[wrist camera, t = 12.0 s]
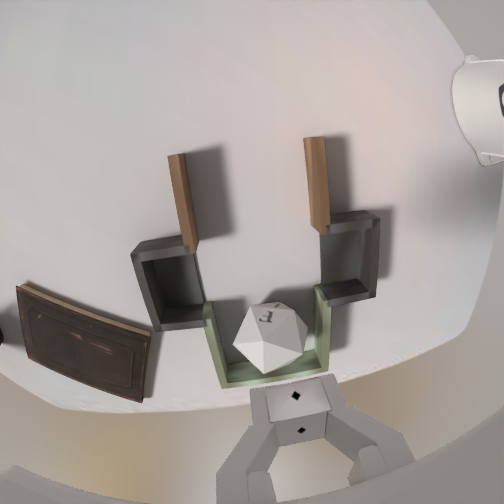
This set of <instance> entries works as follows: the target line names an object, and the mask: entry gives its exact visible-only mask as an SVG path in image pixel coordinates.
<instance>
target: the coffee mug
mask: <svg viewBox="0 0 504 504" xmlns="http://www.w3.org/2000/svg"><path fill="white" fill-rule="evenodd" d="M2 342H3V334H2V332H1V329H0V345H1V343H2Z"/></svg>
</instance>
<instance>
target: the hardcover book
mask: <svg viewBox="0 0 504 504" xmlns="http://www.w3.org/2000/svg"><path fill="white" fill-rule="evenodd" d="M16 293H17V301H18V309H19V315H20V321H21V327H22V332H23V337H24V342H25V346H26V351H27V355H28V358H29V359H31V360H33V361H35V362H37V363H39V364H41V365H43V366H45V367H47V368H49V369H51V370H53V371H55V372H57V373H60V374H62V375H64V376H66V377H69V378H71V379H73V380H76V381H78V382H81V383H83V384H86V385H88V386H91V387H94V388H96V389H99V390H102V391H105V392H107V393H110V394H113V395H116V396H119V397H122V398H125V399H129V400H132V401H135V402H139V403H142V402H143V398H144V397H143V390H144V382H145V373H146V366H147V358H148V351H149V345H150V338H151V337H150V333H151V332H149V331H145V330H142V329H139V328H136V327H132V326H129V325H126V324H123V323H120V322H117V321H114V320H111V319H108V318H105V317H102V316H99V315H97V314H94V313H91V312H88V311H86V310H83V309H80V308H78V307H75V306H73V305H70V304H68V303H65V302H63V301H60V300H58V299H55V298H53V297H51V296H48V295H46V294H44V293H41V292H39V291H37V290H35V289H32V288H30V287H28V286H26V285H24V284H22V285H20V287H19V286H16Z"/></svg>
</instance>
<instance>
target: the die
mask: <svg viewBox="0 0 504 504" xmlns="http://www.w3.org/2000/svg"><path fill="white" fill-rule="evenodd" d="M307 331H308V327H307V326H306V324H305V323H304V322H303V321H302V320H301V318H300V317H299V316H298V315H297V313H296V312H295V311H294V310H293V309H291V308H289V307H287V306H286V305H284V304H282V303H281V302H272V303H265V304H258V305H251V306H250V307H249V309H248V311H247V314H246V316H245V318H244V320H243V323H242V325H241V327H240V329H239V332H238V334H237V336H236V338H235V340H234V343H233V345H234V346H235V347H236V348H237V349H238V350H239V351H240V352H241V353H242V354H243V355H244V356H245V357H246V358H247V359H248V360H249V361H250V362H251V363H253V364H254V365H255V366H256V367H257V368H258V369H259V370H260V371H261V372H262V373H263V374H265V373H268V372H271V371H273V370H276V369H278V368H281V367H283V366H286V365H288V364H290V363H292V362H293V361H295V360H296V359H297V358H298V357H300V356H301V355H302V354H303V351H304V346H305V341H306V336H307Z"/></svg>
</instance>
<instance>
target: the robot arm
mask: <svg viewBox="0 0 504 504" xmlns="http://www.w3.org/2000/svg"><path fill="white" fill-rule="evenodd" d="M452 96H453V104H454V109H455V113H456V117H457V120H458V123H459V125H460V127H461V130H462V132H463V134H464V135H465V137H466V139H467V140H468V142H469V143H470V144H471V145H472V147H473V148H474V149H475V151H476V154H477V156H478V159H479V161H480V163H481V165H482V166H490V165H493V164H496V163H499V162H502V161H504V60H485V61H482V60H480V59H479V58H477V57H476V56H475V55H473V54H468V55H467V56H466V58H465V62H464V65H463V66H462V67H460V68H459V69H458V70H457V72H456V74H455V76H454V79H453V86H452ZM265 394H266V395H265ZM250 400H251V409H252V419H253V425H252V426H249V427H248V429H247V430H246V431H245V433H244V434H243V436H242V437H241V439H240V441H239V442H238V443H237V445H236V446H235V448H234V449H233V451H232V452H231V454H230V455H229V456H228V458H227V459H226V461H225V462H224V464H223V465H222V466H221V468H220V469H219V471H218V472H217V474H216V494H217V495H216V496H217V504H504V406H503V407H501V408H500V409H499V410H497V411H496V412H495V413H493V414H492V415H491V416H489V417H488V418H487V419H485V420H484V421H482V422H481V423H480V424H478V425H477V426H476V427H474V428H472V429H471V430H469V431H468V432H466V433H465V434H463V435H462V436H460V437H458V438H457V439H455V440H453V441H452V442H450V443H448V444H446V445H445V446H443V447H441V448H440V449H438V450H436V451H434V452H432V453H430V454H428V455H426V456H424V457H422V458H420V459H418V460H415V459H414V457H413V454H412V452H411V450H410V449H409V447H408V445H407V443H406V441H405V439H404V437H403V435H402V433H401V432H399V431H397V430H395V429H393V428H391V427H389V426H388V425H386V424H384V423H382V422H380V421H379V420H377V419H375V418H373V417H371V416H369V415H368V414H366V413H364V412H363V411H361V410H359V409H358V408H356V407H354V406H353V405H349V406H347V403H346V401H345V399H344V397H343V394H342V392H341V390H340V387H339V385H338V383H337V380H336V378H335V376H334V374H328V375H323V376H319V377H314V378H309V379H305V380H300V381H296V382H292V383H287V384H281V385H274V386H267V387H265V389H264V387H261V388H253V389H250ZM324 437H325V439H326V440H327V441H328V442H330V443H331V444H332V445H333V446H335V447H336V448H337V449H339V450H340V451H341V452H342V453H343V454H345V455H346V456H347V457H349V458H350V459H351V460H352V461H354V464H353V467H352V469H351V471H350V474H349V476H348V480H349V484H350V487H346V488H342V489H339V490H336V491H332V492H328V493H324V494H320V495H315V496H311V497H306V498H301V499H296V500H290V501H284V502H278V503H277V502H276V496H275V492H274V488H273V484H272V481H271V477H270V473H268V472H267V471H268V469H269V467H270V465H271V463H272V461H273V459H274V457H275V455H276V453H277V451H278V448H279V447H281V446H286V445H291V444H296V443H300V442H305V441H310V440H315V439H320V438H324ZM0 504H147V503H140V502H133V501H128V500H122V499H117V498H112V497H108V496H103V495H99V494H95V493H92V492H88V491H84V490H81V489H77V488H74V487H71V486H68V485H65V484H62V483H59V482H56V481H53V480H51V479H48V478H45V477H43V476H40V475H38V474H35V473H33V472H31V471H29V470H26V469H24V468H22V467H20V466H16V465H12V466H10V467H8V468H6V469H4V470H2V471H1V472H0Z"/></svg>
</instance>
